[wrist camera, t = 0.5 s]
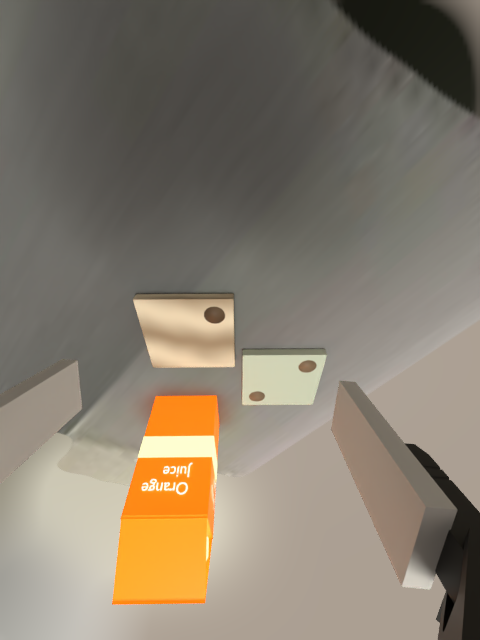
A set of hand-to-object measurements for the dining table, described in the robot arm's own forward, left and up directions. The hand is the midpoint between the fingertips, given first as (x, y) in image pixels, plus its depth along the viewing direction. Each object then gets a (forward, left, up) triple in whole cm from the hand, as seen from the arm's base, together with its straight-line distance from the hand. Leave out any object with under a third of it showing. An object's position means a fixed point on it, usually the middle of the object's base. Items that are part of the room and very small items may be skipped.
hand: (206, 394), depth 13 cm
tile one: (+8, -4, -15) cm, 18 cm away
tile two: (+16, +7, -15) cm, 23 cm away
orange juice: (+24, -6, -15) cm, 29 cm away
